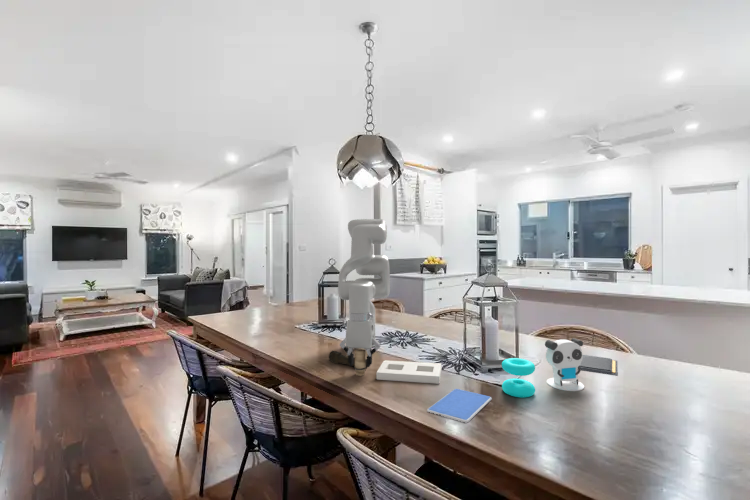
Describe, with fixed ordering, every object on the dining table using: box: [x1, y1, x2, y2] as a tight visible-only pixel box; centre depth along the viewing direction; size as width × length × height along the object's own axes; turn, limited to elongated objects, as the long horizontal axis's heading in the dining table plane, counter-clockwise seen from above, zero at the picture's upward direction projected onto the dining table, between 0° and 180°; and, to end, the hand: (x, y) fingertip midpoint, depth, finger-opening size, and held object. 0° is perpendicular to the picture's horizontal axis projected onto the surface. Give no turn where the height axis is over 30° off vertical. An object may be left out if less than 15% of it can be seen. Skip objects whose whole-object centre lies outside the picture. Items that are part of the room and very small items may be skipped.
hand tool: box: [328, 350, 368, 369], centre depth 152 cm, size 19×4×5 cm, turn 52°
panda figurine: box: [544, 337, 585, 392], centre depth 128 cm, size 12×11×15 cm
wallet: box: [578, 354, 619, 377], centre depth 148 cm, size 20×2×15 cm
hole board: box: [376, 360, 442, 385], centre depth 139 cm, size 14×22×2 cm, turn 77°
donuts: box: [501, 357, 536, 399], centre depth 122 cm, size 10×10×10 cm
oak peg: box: [354, 348, 367, 377], centre depth 140 cm, size 4×4×9 cm
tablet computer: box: [426, 388, 493, 424], centre depth 113 cm, size 19×13×1 cm, turn 143°
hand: (360, 365), depth 140 cm, fingers open, 5 cm apart
